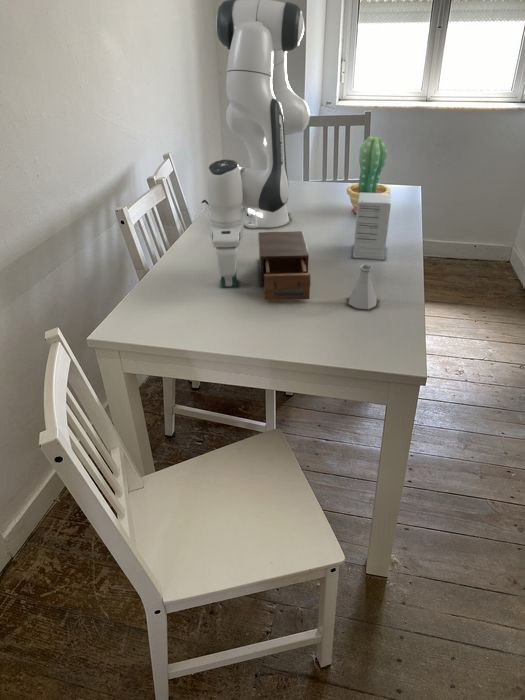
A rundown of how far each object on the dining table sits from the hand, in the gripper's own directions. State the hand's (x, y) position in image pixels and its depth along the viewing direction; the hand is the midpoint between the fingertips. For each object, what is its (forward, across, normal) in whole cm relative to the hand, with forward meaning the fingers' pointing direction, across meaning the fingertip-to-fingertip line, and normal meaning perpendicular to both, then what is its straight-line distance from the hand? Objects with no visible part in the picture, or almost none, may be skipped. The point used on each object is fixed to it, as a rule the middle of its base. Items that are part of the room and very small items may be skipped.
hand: (229, 277), depth 142 cm
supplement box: (+2, -18, +42) cm, 45 cm away
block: (+2, 0, 0) cm, 2 cm away
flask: (+2, +13, +34) cm, 36 cm away
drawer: (+1, +7, +15) cm, 16 cm away
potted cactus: (+2, -54, +48) cm, 72 cm away
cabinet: (+2, -6, +15) cm, 16 cm away
